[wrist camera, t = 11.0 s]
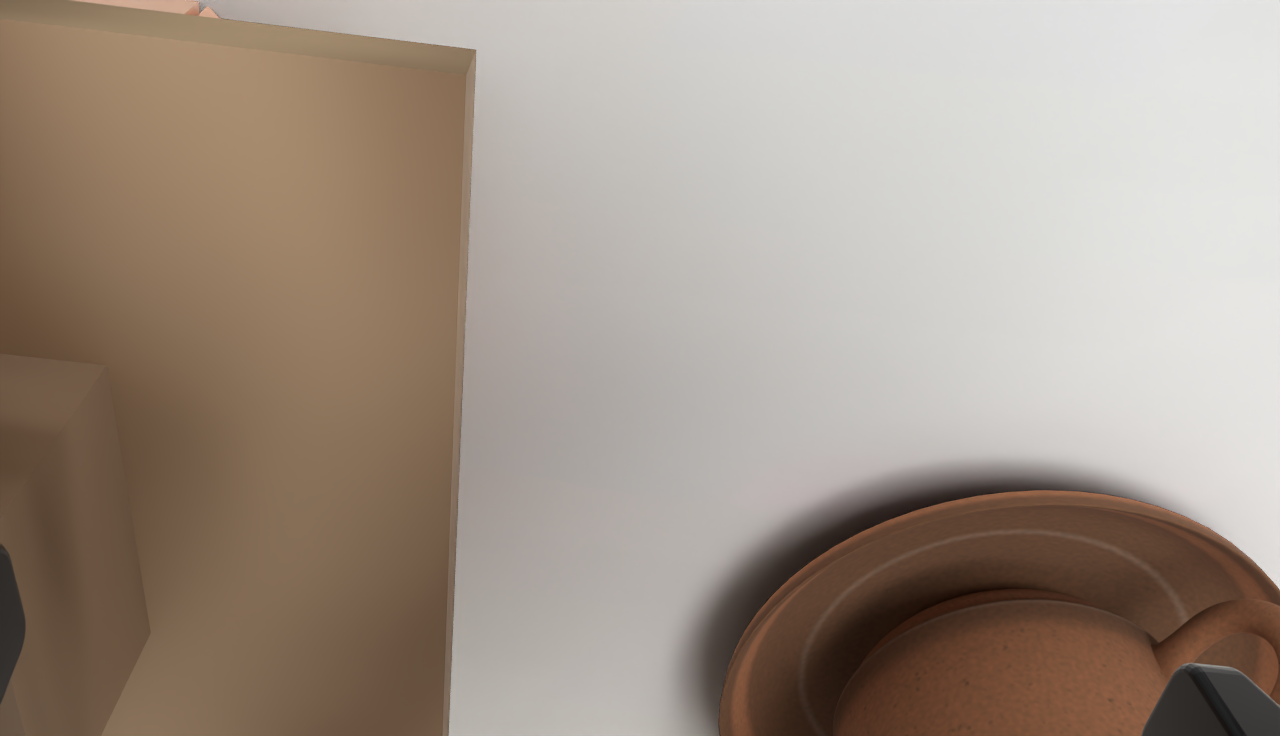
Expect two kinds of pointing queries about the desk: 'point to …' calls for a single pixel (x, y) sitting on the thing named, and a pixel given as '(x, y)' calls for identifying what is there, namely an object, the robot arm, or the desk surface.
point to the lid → (230, 372)
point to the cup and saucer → (1002, 623)
